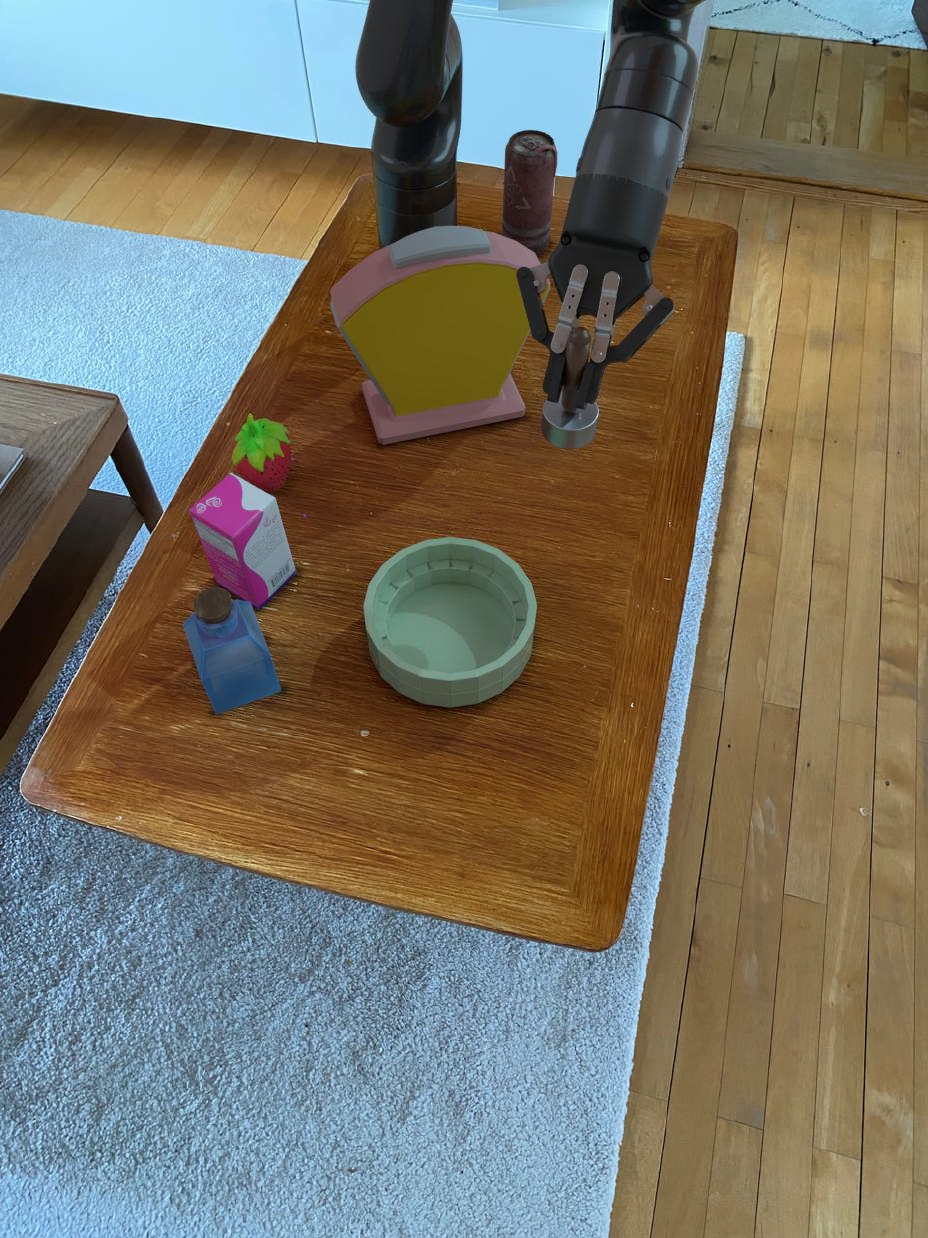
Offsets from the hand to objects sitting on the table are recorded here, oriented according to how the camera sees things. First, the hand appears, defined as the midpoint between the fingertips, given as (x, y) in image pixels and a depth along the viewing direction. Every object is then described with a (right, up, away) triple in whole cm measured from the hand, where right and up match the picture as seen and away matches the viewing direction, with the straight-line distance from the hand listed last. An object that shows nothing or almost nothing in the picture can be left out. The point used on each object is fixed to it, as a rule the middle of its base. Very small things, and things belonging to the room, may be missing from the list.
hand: (566, 404), depth 80 cm
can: (0, +31, +46) cm, 55 cm away
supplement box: (-29, -14, +17) cm, 36 cm away
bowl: (-10, -20, +13) cm, 25 cm away
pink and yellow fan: (-11, +6, +30) cm, 33 cm away
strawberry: (-29, -4, +23) cm, 37 cm away
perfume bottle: (-29, -23, +10) cm, 39 cm away
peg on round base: (+1, -1, +5) cm, 5 cm away
